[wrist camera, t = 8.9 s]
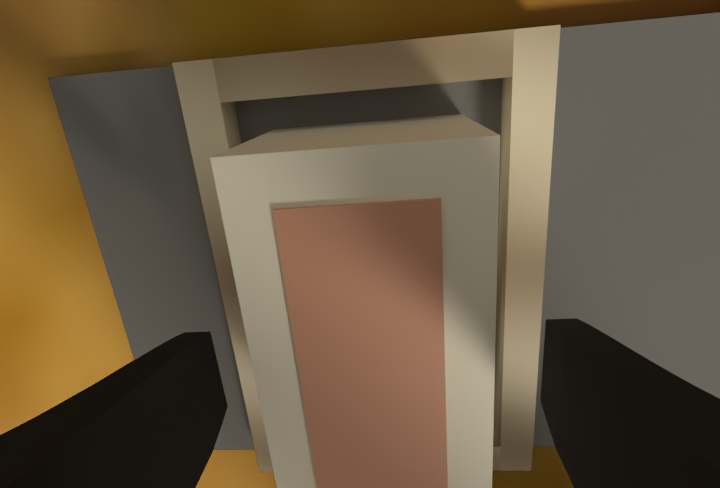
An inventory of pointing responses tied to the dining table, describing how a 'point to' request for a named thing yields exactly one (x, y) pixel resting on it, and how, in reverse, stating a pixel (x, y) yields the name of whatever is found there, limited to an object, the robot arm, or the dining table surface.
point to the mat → (566, 200)
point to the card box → (369, 297)
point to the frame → (517, 180)
